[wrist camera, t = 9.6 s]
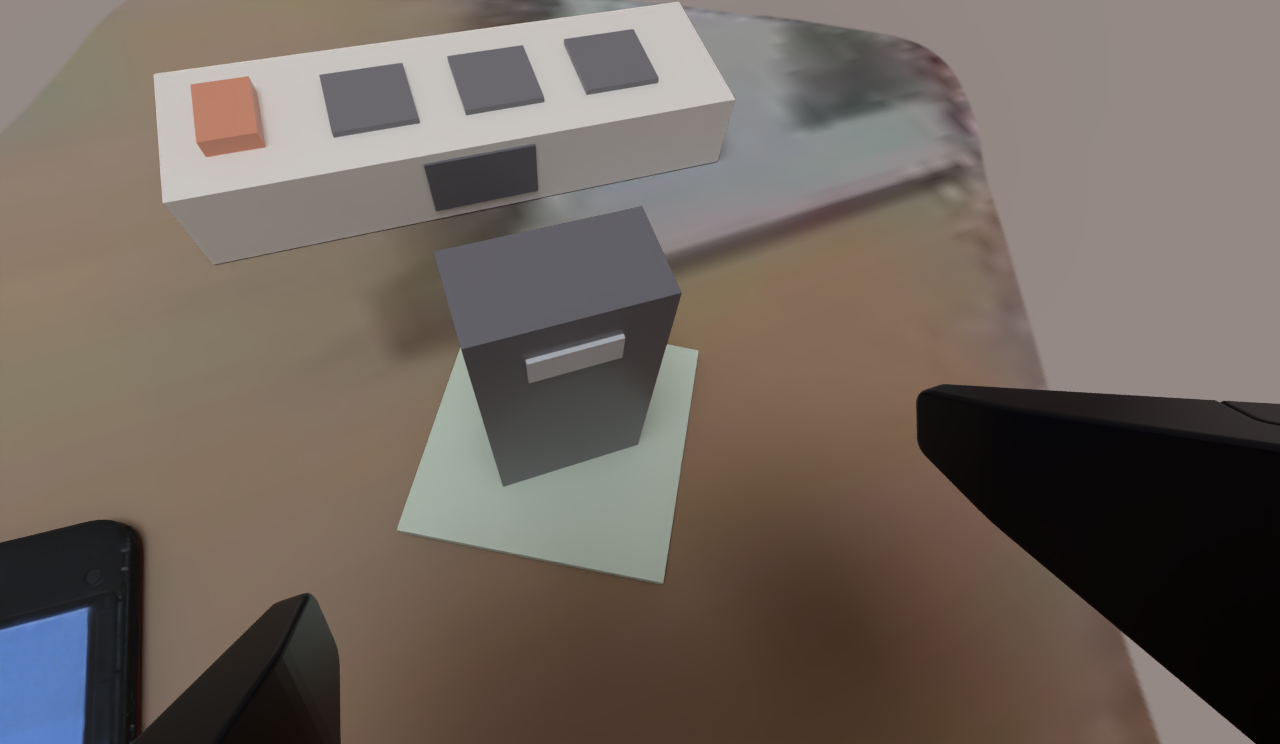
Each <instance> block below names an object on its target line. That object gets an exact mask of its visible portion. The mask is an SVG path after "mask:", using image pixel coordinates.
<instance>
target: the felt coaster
mask: <svg viewBox="0 0 1280 744" xmlns="http://www.w3.org/2000/svg"><path fill="white" fill-rule="evenodd" d="M698 352H699V351H697V350H692V349H687V348H683V347H678V346H673V345H668V344H667V345H666V349H665V352H664V356H663V359H662V363H661V366H660V370H659V373H658V377H657V380H656V384H655V387H654V391H653V394H652V398H651V401H650V405H649V408H648V412H647V415H646V419H645V422H644V425H643V429H642V432H641V436H640V439H639V443H638V445H635V446H632V447H629V448H626V449H623V450H619V451H616V452H613V453H610V454H607V455H604V456H600V457H597V458H594V459H591V460H588V461H584V462H581V463H578V464H575V465H572V466H568V467H565V468H562V469H559V470H556V471H552V472H549V473H546V474H543V475H540V476H537V477H533V478H530V479H527V480H524V481H521V482H517V483H514V484H511V485H508V486H505V487H503V485H502V482H501V479H500V476H499V472H498V469H497V466H496V462H495V459H494V456H493V453H492V449H491V446H490V443H489V440H488V436H487V433H486V430H485V426H484V423H483V420H482V417H481V413H480V410H479V407H478V403H477V400H476V397H475V394H474V390H473V387H472V384H471V380H470V377H469V374H468V371H467V367H466V364H465V361H464V358H463V354H462V351H461V348H460V350H459V353H458V356H457V359H456V362H455V365H454V368H453V370H452V373H451V376H450V379H449V382H448V385H447V388H446V390H445V393H444V396H443V399H442V402H441V405H440V408H439V410H438V413H437V416H436V419H435V422H434V425H433V428H432V430H431V433H430V436H429V439H428V442H427V445H426V448H425V451H424V453H423V456H422V459H421V462H420V465H419V468H418V471H417V473H416V476H415V479H414V482H413V485H412V488H411V491H410V493H409V496H408V499H407V502H406V505H405V508H404V511H403V513H402V516H401V519H400V522H399V525H398V528H397V531H398V532H399V533H404V534H409V535H414V536H419V537H424V538H429V539H434V540H439V541H444V542H449V543H454V544H459V545H464V546H469V547H474V548H479V549H484V550H489V551H494V552H499V553H504V554H509V555H514V556H519V557H524V558H529V559H534V560H539V561H544V562H549V563H554V564H559V565H564V566H569V567H574V568H579V569H584V570H589V571H594V572H599V573H604V574H609V575H614V576H619V577H624V578H629V579H634V580H639V581H644V582H649V583H654V584H660V585H662V584H663V582H664V575H665V569H666V562H667V556H668V549H669V542H670V536H671V529H672V523H673V516H674V510H675V503H676V496H677V490H678V483H679V477H680V470H681V464H682V457H683V450H684V444H685V437H686V431H687V424H688V417H689V411H690V404H691V398H692V391H693V385H694V378H695V371H696V365H697V358H698Z"/></svg>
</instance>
